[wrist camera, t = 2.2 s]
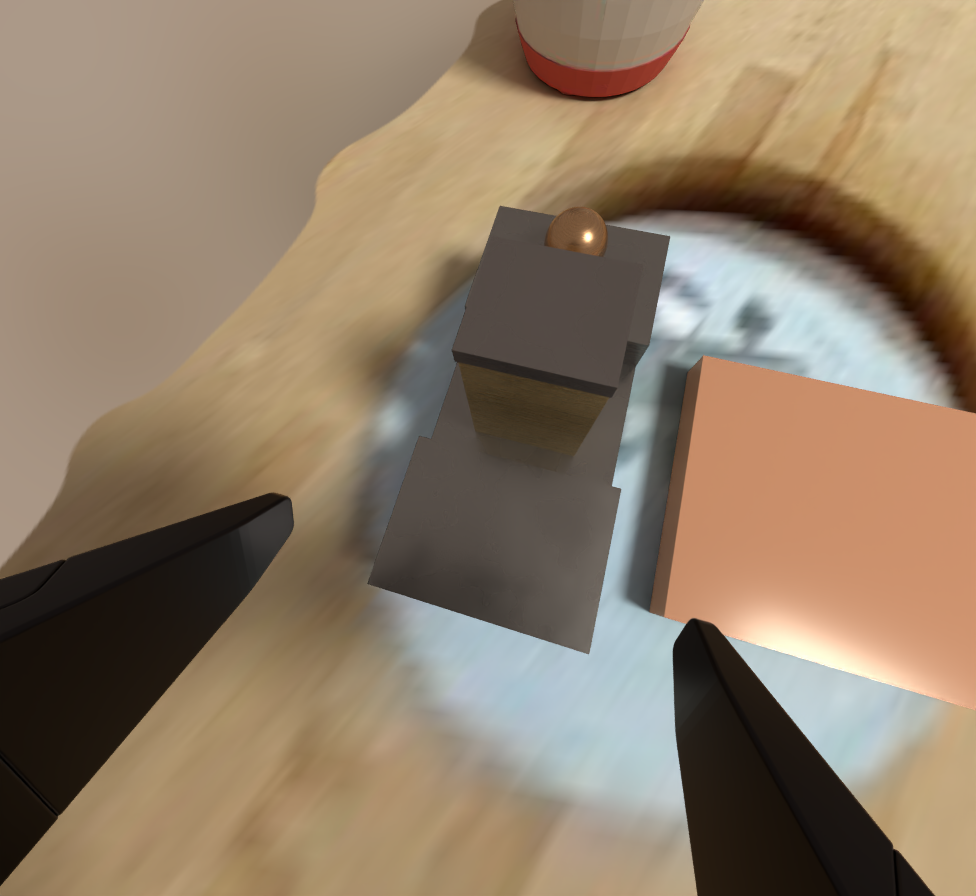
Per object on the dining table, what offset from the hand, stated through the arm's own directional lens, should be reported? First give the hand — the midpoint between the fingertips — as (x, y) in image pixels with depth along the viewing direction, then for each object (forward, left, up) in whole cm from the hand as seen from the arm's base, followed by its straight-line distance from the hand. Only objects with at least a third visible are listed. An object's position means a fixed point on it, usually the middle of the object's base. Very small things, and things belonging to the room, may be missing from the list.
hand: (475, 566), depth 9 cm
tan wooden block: (+8, +2, -9) cm, 12 cm away
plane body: (+8, +2, -13) cm, 15 cm away
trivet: (+11, -13, -13) cm, 21 cm away
